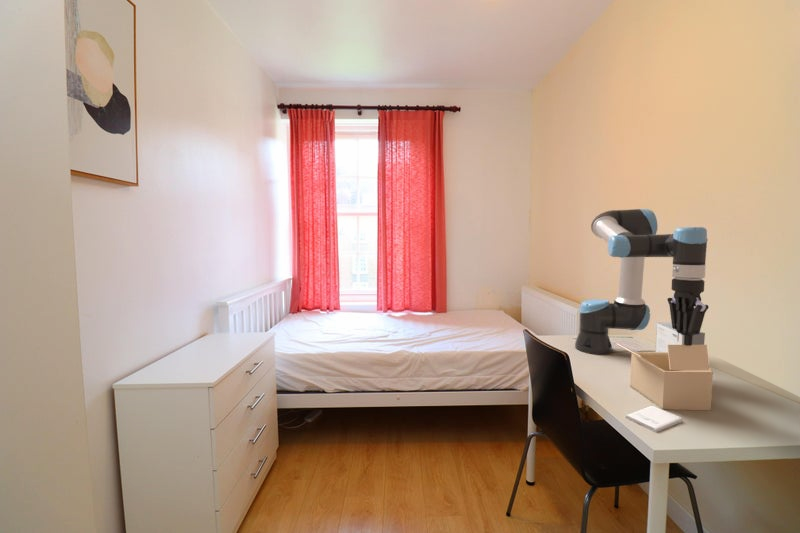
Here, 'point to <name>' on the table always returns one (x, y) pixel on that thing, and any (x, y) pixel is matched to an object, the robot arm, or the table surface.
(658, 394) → the carton
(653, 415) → the external hard drive
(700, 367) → the flap
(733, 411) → the table surface
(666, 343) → the hard drive box
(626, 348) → the flap
